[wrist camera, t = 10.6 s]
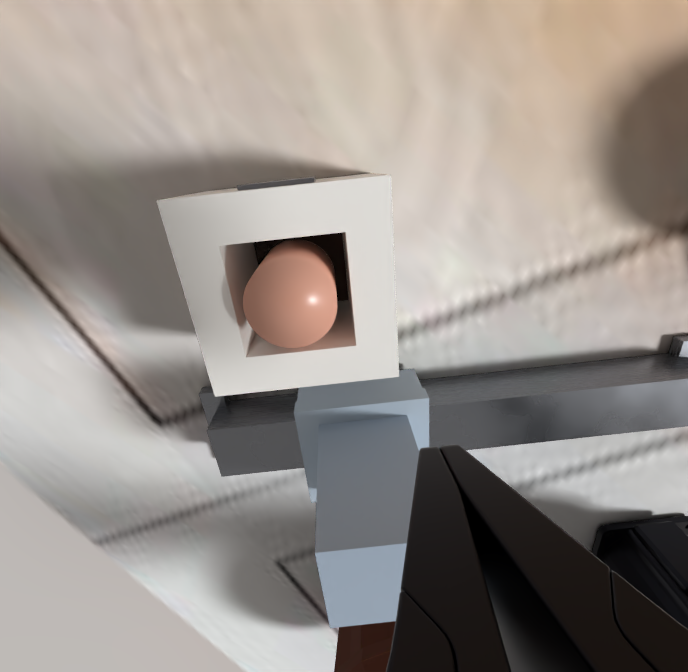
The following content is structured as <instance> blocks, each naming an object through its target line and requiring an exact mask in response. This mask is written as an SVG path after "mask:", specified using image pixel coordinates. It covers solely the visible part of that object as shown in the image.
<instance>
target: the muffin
mask: <svg viewBox="0 0 688 672" xmlns="http://www.w3.org/2000/svg"><path fill="white" fill-rule="evenodd" d="M395 622H396V621H392V622H383V623H374V624H364V625H355V626H346V627H339V633H338V642H337V652H336V661H335V670H334V672H386V668H387V664H388V660H389V656H390V651H391V645H392V640H393V634H394V628H395Z"/></svg>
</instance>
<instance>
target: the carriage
mask: <svg viewBox="0 0 688 672" xmlns="http://www.w3.org/2000/svg"><path fill="white" fill-rule="evenodd" d="M294 416H295V421H296V427H297V432H298V437H299V442H300V447H301V452H302V458H303V463H304V468H305V473H306V478H307V484H308V489H309V494H310V499H311V503H313V502H316V531H315V556H316V561H317V566H318V571H319V576H320V581H321V586H322V591H323V596H324V601H325V605H326V610H327V615H328V620H329V625H330V628H336V627H346V626H355V625H364V624H374V623H383V622H392V621H396V616H397V609H398V602H399V594H400V592H401V581H402V574H403V567H404V559H405V552H406V545H407V538H408V530H409V523H410V516H411V508H412V501H413V494H414V486H415V479H416V472H417V464H418V457H419V450H420V449H421V448H424V447H429V396H428V394H427V392H426V390H425V388H422V386H421V384H420V381H419V379H418V377H417V375H416V372H415V370H414V369H407V370H399V377H393V378H384V379H374V380H365V381H356V382H347V383H337V384H328V385H319V386H310V387H300V388H299V390H298V398H297V402H295V408H294Z"/></svg>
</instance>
